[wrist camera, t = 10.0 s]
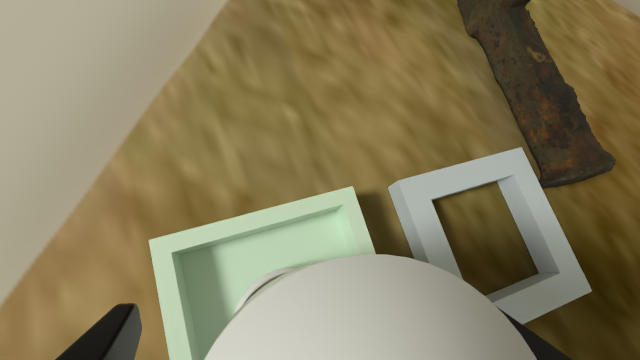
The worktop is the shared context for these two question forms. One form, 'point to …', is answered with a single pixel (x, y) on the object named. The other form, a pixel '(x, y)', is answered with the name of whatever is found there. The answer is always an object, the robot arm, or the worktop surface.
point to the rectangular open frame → (529, 214)
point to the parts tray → (246, 261)
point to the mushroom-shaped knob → (367, 315)
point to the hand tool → (536, 92)
